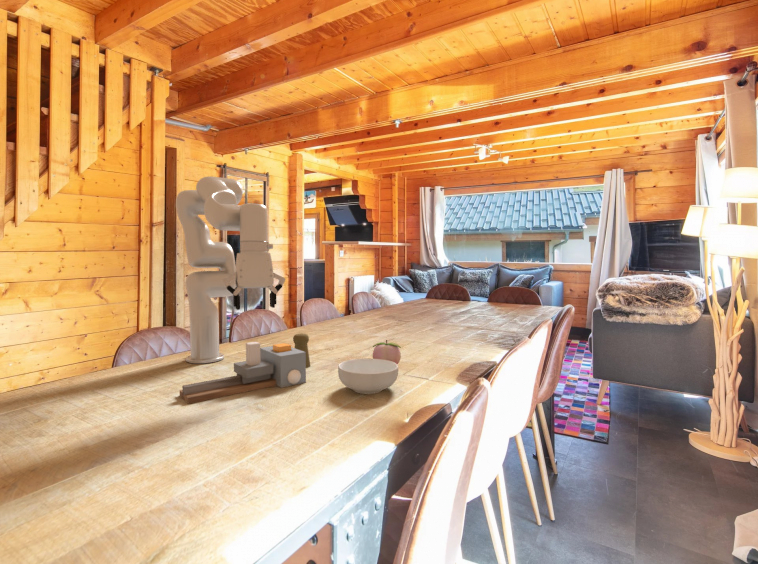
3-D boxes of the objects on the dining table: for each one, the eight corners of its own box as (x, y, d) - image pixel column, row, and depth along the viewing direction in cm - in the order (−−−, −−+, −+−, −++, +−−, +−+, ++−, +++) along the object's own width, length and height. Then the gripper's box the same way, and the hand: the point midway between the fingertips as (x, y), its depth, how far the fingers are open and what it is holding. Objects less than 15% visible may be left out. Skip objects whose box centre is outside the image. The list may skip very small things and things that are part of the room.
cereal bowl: (392, 402, 110) (392, 374, 109) (330, 397, 113) (330, 371, 112) (402, 382, 126) (402, 358, 126) (347, 379, 129) (347, 356, 129)
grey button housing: (260, 376, 132) (259, 347, 131) (283, 372, 137) (283, 344, 136) (282, 388, 121) (281, 356, 120) (306, 382, 126) (306, 352, 125)
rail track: (179, 395, 114) (179, 382, 114) (264, 379, 130) (264, 367, 129) (188, 403, 108) (188, 390, 108) (276, 385, 123) (276, 373, 123)
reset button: (273, 358, 129) (272, 344, 129) (285, 355, 131) (284, 343, 131) (279, 360, 126) (278, 347, 126) (291, 358, 128) (291, 345, 128)
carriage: (234, 378, 124) (233, 342, 123) (260, 373, 129) (259, 338, 129) (246, 385, 117) (245, 347, 117) (273, 380, 122) (272, 343, 122)
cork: (306, 369, 141) (306, 335, 140) (289, 368, 142) (288, 335, 141) (313, 364, 147) (312, 332, 146) (296, 363, 148) (295, 331, 147)
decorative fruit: (401, 367, 143) (401, 337, 142) (400, 373, 135) (400, 342, 134) (373, 366, 144) (373, 336, 143) (370, 373, 136) (370, 341, 135)
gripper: (281, 248, 129) (282, 305, 130) (220, 248, 121) (221, 308, 122) (287, 248, 122) (288, 307, 123) (223, 247, 114) (225, 311, 115)
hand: (255, 308), depth 122 cm, fingers open, 9 cm apart
